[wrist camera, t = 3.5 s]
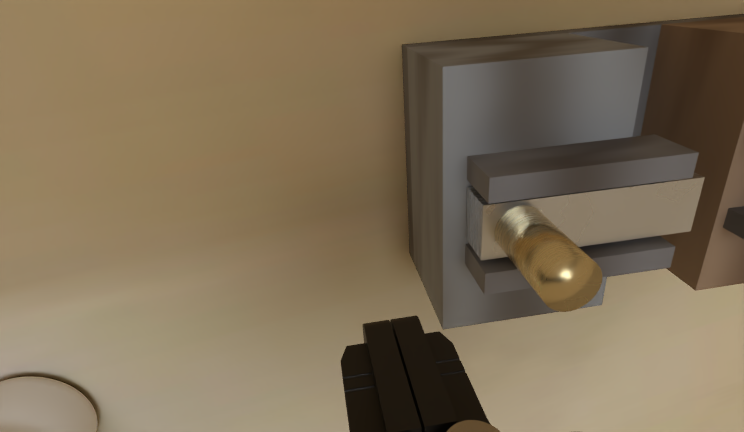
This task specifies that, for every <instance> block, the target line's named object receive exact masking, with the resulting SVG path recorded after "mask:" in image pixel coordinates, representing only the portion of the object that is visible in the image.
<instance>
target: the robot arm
mask: <svg viewBox="0 0 744 432" xmlns="http://www.w3.org/2000/svg"><path fill="white" fill-rule="evenodd" d="M363 335H364V344H357V345H351V346H346V349H345V352H344V354H343V357H342V359H341V368H342V376H343V384H344V392H345V400H346V407H347V415H348V422H349V430H350V432H500V431H499V430H498V429H496V428H495V427H494V426H492V425H491V424H490V423H489V421H488V419H487V418H486V415H485V413H484V411H483V409H482V407H481V404H480V402H479V400H478V398H477V396H476V393H475V391H474V389H473V387H472V385H471V382H470V380H469V378H468V376H467V374H466V373H465V369H464V367H463V365H462V363H461V361H460V360H459V356H458V354H457V352H456V350H455V347H454V345H453V343H452V342H451V341H450V340H448V339H447V338H446V337H445V336H444V335H443V334H442V333H440V332H433V333H426V334H425V333H424V331H423V328H422V326H421V323H420V321H419V318H418V316H411V317H404V318H397V319H391V321H389V320H385V321H379V322H372V323H366V324H363Z"/></svg>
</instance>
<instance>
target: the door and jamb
mask: <svg viewBox="0 0 744 432" xmlns="http://www.w3.org/2000/svg"><path fill="white" fill-rule="evenodd" d="M402 59H403V86H404V113H405V140H406V167H407V194H408V221H409V248H410V255H411V257H412V260H413V262H414V264H415V266H416V269H417V271H418V273H419V276H420V278H421V280H422V282H423V285H424V287H425V289H426V292H427V294H428V296H429V299H430V301H431V303H432V305H433V308H434V310H435V312H436V315H437V317H438V319H439V321H440V324H441V326H442V328H443V329H449V328H455V327H462V326H468V325H475V324H481V323H488V322H494V321H501V320H507V319H514V318H520V317H527V316H533V315H540V314H546V313H553V312H559V311H555V310H553V309H551V308H549V307H548V306H547V305H546V304H545V303H544V301H543V300H542V299H541V298H540V296H539V295H538V294H537V293H536V291H535V290H534V289H533V288H532V286H531V285H530V284H529V282H528V281H527V280H526V279H525V277H524V276H523V275H522V274H521V272H520V271H519V270H518V269H517V267H516V266H515V265H514V264H513V262H512V261H511V260H510V259H509V257H503V258H496V259H489V260H482V261H481V260H480V258H479V257H478V255H477V254H476V253H475V251H474V250H473V248H472V247H471V245H470V244H469V242H468V241H467V239H466V228H467V187H474V188H475V189H476V190H477V191H478V193H479V194H480V195H481V196H482V197H483V198H484V199H485V200H486V202H487V203H488V204H491V203H499V202H506V201H514V200H522V199H530V198H538V197H546V196H553V195H561V194H569V193H577V192H585V191H593V190H601V189H608V188H616V187H624V186H632V185H640V184H648V183H655V182H663V181H671V180H679V179H687V178H693V174H694V172H695V173H697V174H699V175H701V176H703V177H705V178H704V182H703V186H702V190H701V194H700V198H699V201H698V205H697V209H696V213H695V217H694V221H693V224H692V228H691V231H689V232H682V233H675V234H668V235H660V236H653V237H646V238H639V239H632V240H625V241H618V242H610V243H603V244H596V245H589V246H582V247H579V248H580V249H581V250H583V251H584V252H585V253H586V254H587V255H588V256H589V257H590V258H591V259H592V260H593V261H595V262H596V263H597V264H598V265H599V267H600V268H601V271H602V284H601V287H600V289H599V291H598V292H597V294H596V295H595V296H594V298H593V299H592V300H591V301H589V302H588V303H587V304H585V305H584V306H582V307H580V308H585V307H592V306H598V305H602V301H603V296H604V290H605V284H606V279H607V277H610V276H616V275H623V274H630V273H637V272H643V271H650V270H657V269H664V268H667V269H668V270H669V271H670V272H672V273H673V274H674V275H676V276H677V277H678V278H680V279H681V280H682V281H684V282H685V283H686V284H688V285H689V286H690V287H692V288H693V289H694V290H702V289H708V288H715V287H721V286H728V285H734V284H741V283H744V14H738V15H726V16H715V17H704V18H693V19H682V20H671V21H660V22H649V23H637V24H626V25H615V26H604V27H593V28H582V29H571V30H559V31H548V32H537V33H526V34H515V35H504V36H493V37H482V38H470V39H459V40H448V41H437V42H426V43H415V44H404V45H402ZM578 309H579V308H578Z"/></svg>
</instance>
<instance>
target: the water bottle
mask: <svg viewBox="0 0 744 432" xmlns="http://www.w3.org/2000/svg"><path fill="white" fill-rule="evenodd" d="M97 425H98V422H97V415H96V412H95V409H94V407H93V406H92V404H91V403H90V401H89V400H88V399H87V398H86V397H85V396H84V395H83V394H82V393H81V392H80V391H78V390H77V389H75V388H73V387H72V386H70V385H68V384H66V383H63V382H60V381H57V380H54V379H50V378H44V377H32V376H30V377H17V378H11V379H7V380H3V381H0V432H96V431H97Z"/></svg>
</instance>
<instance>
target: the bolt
mask: <svg viewBox="0 0 744 432" xmlns="http://www.w3.org/2000/svg"><path fill="white" fill-rule="evenodd" d="M704 178H705V177H703V176H701V175H699V174H697V173H695V172H694V174H693V178H687V179H679V180H671V181H663V182H655V183H648V184H640V185H632V186H624V187H616V188H608V189H601V190H593V191H585V192H577V193H569V194H561V195H553V196H546V197H538V198H530V199H522V200H514V201H506V202H499V203H491V204H488V203H487V202H486V200H485V199H484V198H483V197H482V196H481V195H480V194H479V193H478V191H477V190H476V189H475V188H474V187H467V228H466V239H467V241H468V242H469V244H470V245H471V247H472V248H473V250H474V251H475V253H476V254H477V255H478V257H479V258H480V260H481V261H482V260H489V259H496V258H503V257H509V259H510V260H511V261H512V262H513V264H514V265H515V266H516V267H517V269H518V270H519V271H520V272H521V274H522V275H523V276H524V277H525V279H526V280H527V281H528V282H529V284H530V285H531V286H532V288H533V289H534V290H535V291H536V293H537V294H538V295H539V296H540V298H541V299H542V300H543V301H544V303H545V304H546V305H547V306H548V307H549V308H551V309H553V310H555V311H560V312H566V311H572V310H575V309H578V308H580V307H582V306H584V305H585V304H587V303H588V302H589V301H591V300H592V299H593V298H594V296H595V295H596V294H597V292H598V291H599V289H600V287H601V284H602V271H601V268H600V267H599V265H598V264H597V263H596V262H595V261H593V260H592V259H591V258H590V257H589V256H588V255H587V254H586V253H585V252H584V251H583V250H581V249H580V248H579V247H582V246H589V245H596V244H603V243H610V242H618V241H625V240H632V239H639V238H646V237H653V236H660V235H668V234H675V233H682V232H689V231H691V228H692V224H693V221H694V217H695V213H696V209H697V205H698V201H699V198H700V194H701V190H702V186H703V182H704Z"/></svg>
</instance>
